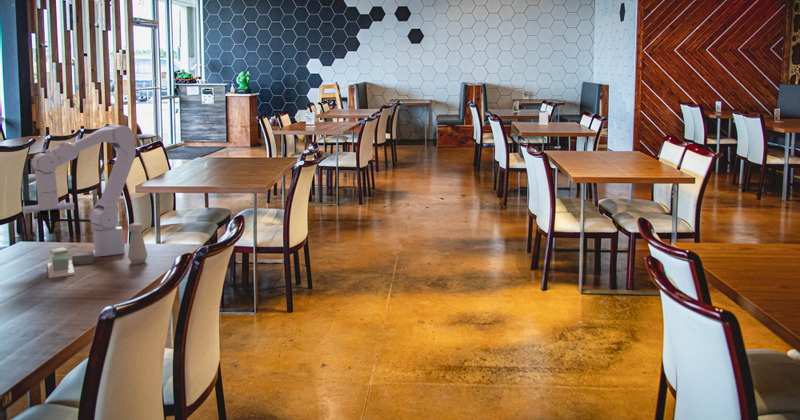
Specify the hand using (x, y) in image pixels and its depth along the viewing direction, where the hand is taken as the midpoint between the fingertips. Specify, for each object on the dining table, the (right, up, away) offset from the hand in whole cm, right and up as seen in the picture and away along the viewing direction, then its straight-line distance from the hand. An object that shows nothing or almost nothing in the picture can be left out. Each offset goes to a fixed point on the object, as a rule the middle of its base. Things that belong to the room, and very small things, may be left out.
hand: (51, 233), depth 216 cm
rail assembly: (+6, -11, -5) cm, 14 cm away
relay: (+9, -10, +3) cm, 13 cm away
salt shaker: (+27, -10, +3) cm, 29 cm away
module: (+6, -10, -6) cm, 13 cm away
